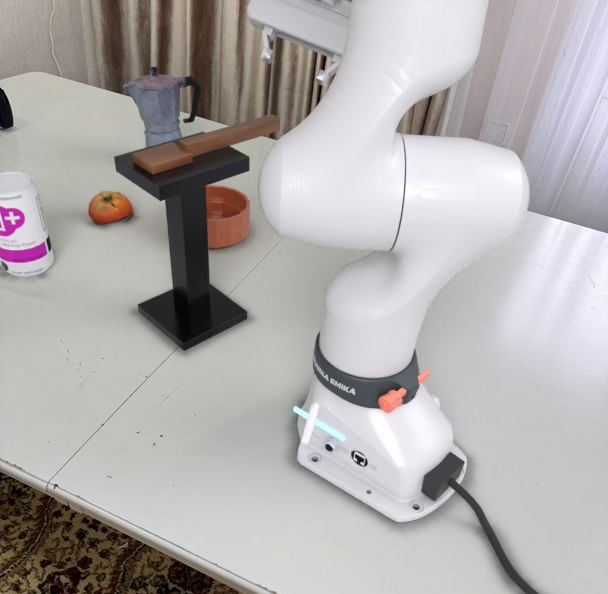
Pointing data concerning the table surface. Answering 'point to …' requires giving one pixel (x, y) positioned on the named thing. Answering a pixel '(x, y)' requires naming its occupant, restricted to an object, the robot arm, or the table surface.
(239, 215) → the bowl
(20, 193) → the supplement can
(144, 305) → the black plant stand
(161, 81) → the moka pot
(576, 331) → the table surface
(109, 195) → the tomato
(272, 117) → the wooden spatula
